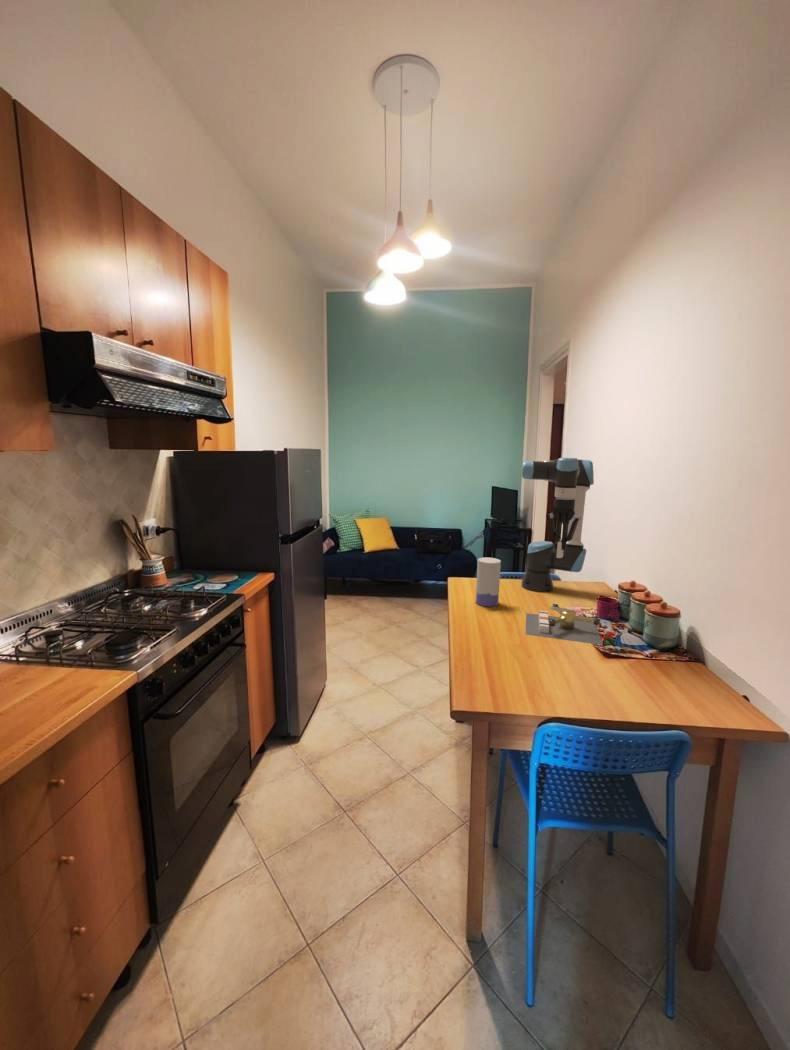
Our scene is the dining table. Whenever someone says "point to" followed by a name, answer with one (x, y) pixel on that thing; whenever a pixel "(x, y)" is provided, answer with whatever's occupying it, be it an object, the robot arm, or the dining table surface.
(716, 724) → the dining table surface
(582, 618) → the gold quadcopter drone
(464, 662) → the dining table surface
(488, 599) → the container
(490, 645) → the dining table surface
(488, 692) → the dining table surface
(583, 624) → the stand
